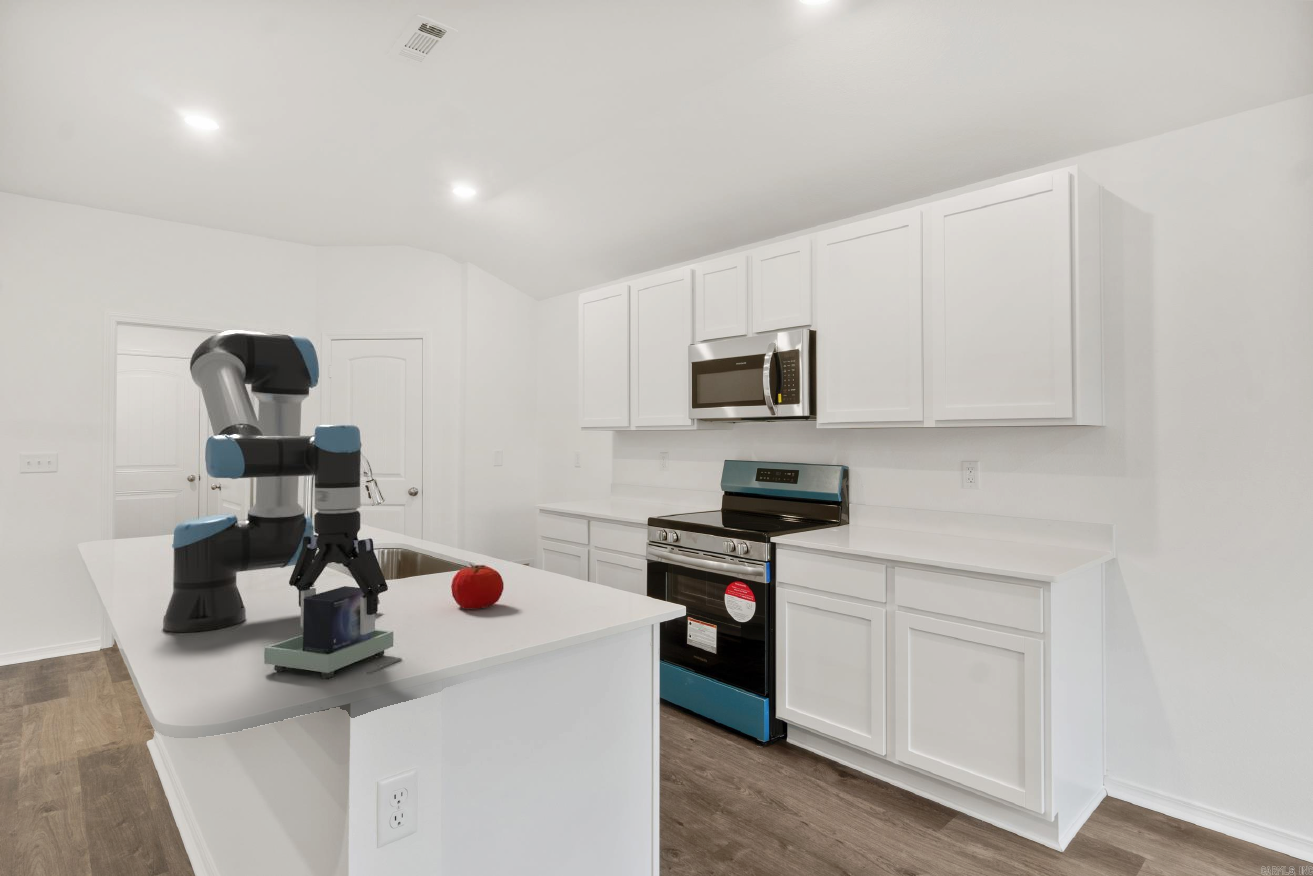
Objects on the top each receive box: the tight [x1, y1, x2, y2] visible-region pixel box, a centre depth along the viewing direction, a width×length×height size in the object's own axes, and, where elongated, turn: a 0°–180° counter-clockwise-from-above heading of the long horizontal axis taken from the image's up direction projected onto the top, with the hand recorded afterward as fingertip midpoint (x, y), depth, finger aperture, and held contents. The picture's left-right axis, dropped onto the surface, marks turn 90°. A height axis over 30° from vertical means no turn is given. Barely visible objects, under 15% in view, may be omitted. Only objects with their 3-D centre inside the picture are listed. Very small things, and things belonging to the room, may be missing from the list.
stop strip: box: [366, 657, 403, 674], centre depth 121 cm, size 1×8×1 cm, turn 161°
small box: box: [302, 585, 371, 654], centre depth 122 cm, size 11×6×10 cm, turn 165°
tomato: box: [450, 562, 505, 610], centre depth 164 cm, size 11×13×10 cm
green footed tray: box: [263, 628, 394, 680], centre depth 123 cm, size 14×15×4 cm
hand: (337, 629), depth 122 cm, fingers open, 13 cm apart
